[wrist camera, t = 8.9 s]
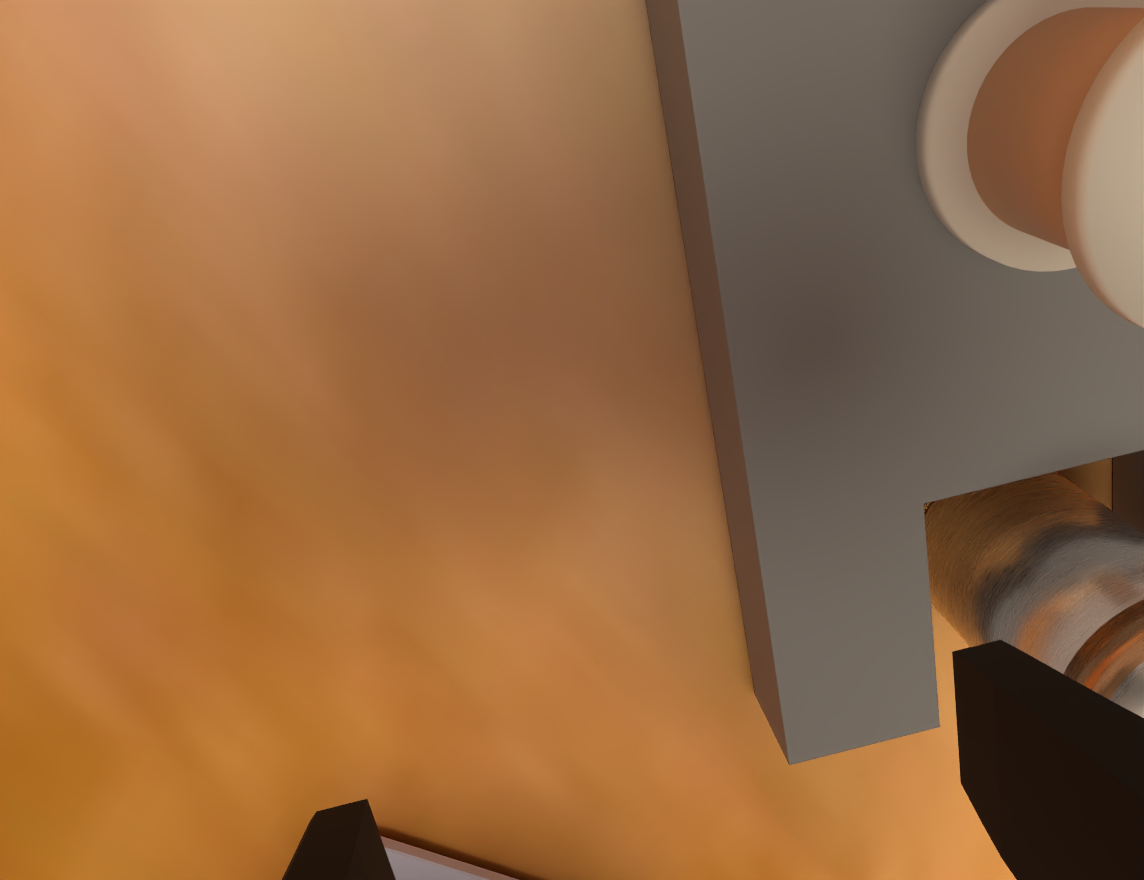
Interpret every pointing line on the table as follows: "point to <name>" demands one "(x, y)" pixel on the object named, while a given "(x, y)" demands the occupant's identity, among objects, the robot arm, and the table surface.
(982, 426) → the notched board
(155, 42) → the table surface
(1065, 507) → the peg
